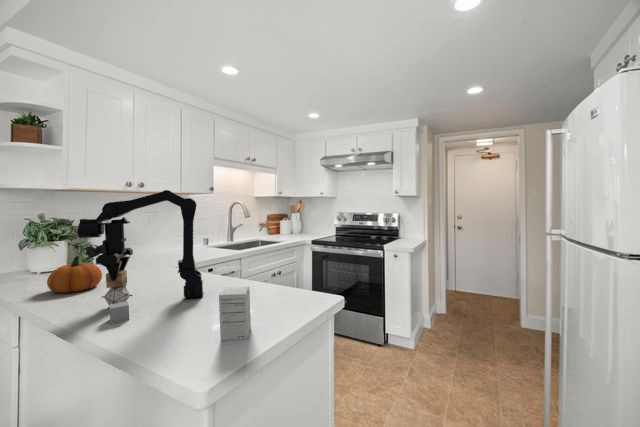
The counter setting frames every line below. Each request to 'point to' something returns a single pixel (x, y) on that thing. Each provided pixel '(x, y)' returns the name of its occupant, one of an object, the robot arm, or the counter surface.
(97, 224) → the robot arm
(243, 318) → the supplement box
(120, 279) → the brown metallic block
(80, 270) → the pumpkin
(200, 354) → the counter surface
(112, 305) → the grey block
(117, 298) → the game die
